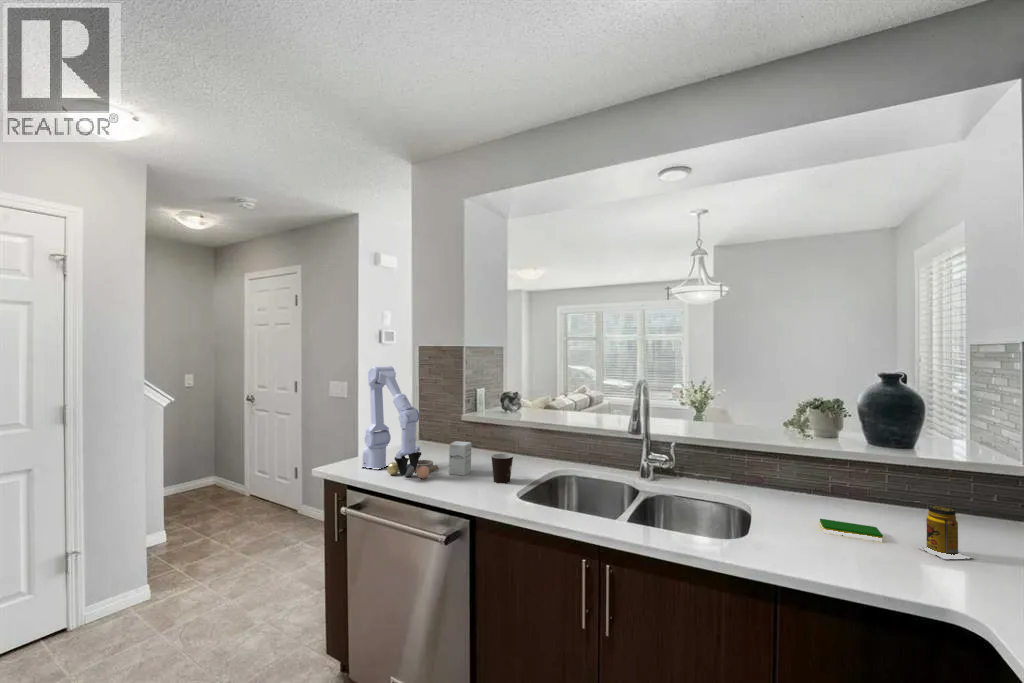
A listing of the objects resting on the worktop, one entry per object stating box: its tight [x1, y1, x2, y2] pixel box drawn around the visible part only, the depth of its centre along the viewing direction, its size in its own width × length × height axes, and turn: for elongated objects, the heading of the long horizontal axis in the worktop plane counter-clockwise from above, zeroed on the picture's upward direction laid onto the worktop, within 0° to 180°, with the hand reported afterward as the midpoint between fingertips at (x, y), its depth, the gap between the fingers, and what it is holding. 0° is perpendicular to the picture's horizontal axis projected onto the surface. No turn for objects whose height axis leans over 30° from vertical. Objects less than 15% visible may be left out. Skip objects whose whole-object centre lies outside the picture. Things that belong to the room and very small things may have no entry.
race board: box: [414, 459, 439, 473], centre depth 195 cm, size 10×10×3 cm
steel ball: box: [403, 463, 414, 477], centre depth 184 cm, size 5×5×5 cm
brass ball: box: [386, 461, 400, 476], centre depth 187 cm, size 5×5×5 cm
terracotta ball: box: [416, 466, 430, 480], centre depth 182 cm, size 5×5×5 cm
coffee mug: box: [490, 453, 514, 484], centre depth 181 cm, size 12×9×10 cm
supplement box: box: [448, 440, 473, 476], centre depth 191 cm, size 7×7×13 cm
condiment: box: [925, 504, 959, 555], centre depth 119 cm, size 7×8×12 cm
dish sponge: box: [819, 518, 884, 539], centre depth 132 cm, size 7×14×2 cm, turn 63°
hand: (408, 472), depth 184 cm, fingers open, 7 cm apart
